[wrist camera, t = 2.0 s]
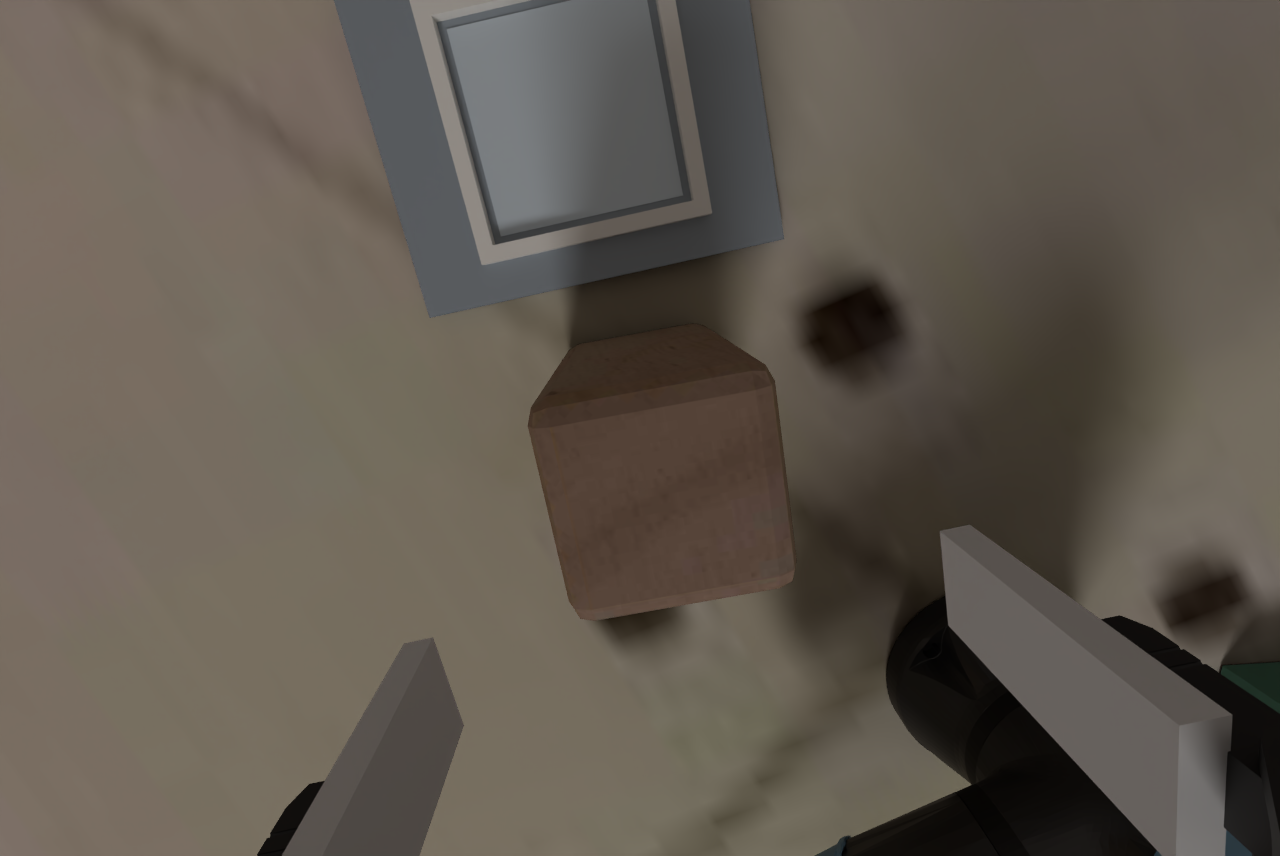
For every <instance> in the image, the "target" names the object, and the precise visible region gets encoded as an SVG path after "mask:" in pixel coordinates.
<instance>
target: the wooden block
mask: <svg viewBox="0 0 1280 856" xmlns="http://www.w3.org/2000/svg"><path fill="white" fill-rule="evenodd" d="M528 429H529V433H530V437H531V441H532V446H533V450H534V454H535V458H536V463H537V467H538V471H539V475H540V480H541V484H542V488H543V492H544V497H545V501H546V505H547V509H548V514H549V518H550V522H551V526H552V531H553V535H554V539H555V544H556V548H557V552H558V556H559V561H560V565H561V569H562V573H563V578H564V582H565V586H566V590H567V595H568V599H569V602H570V603H571V605H572V606H573V608H574V609H575V611H576V612H577V614H578V616H579V617H580V619H586V620H593V621H596V620H601V619H607V618H613V617H618V616H624V615H630V614H635V613H641V612H647V611H652V610H658V609H664V608H669V607H675V606H681V605H686V604H692V603H698V602H703V601H709V600H715V599H720V598H726V597H732V596H737V595H743V594H749V593H754V592H760V591H766V590H771V589H777V588H781V587H783V586H785V585H786V584H788V583H790V582H792V581H793V576H794V571H795V567H796V563H797V558H796V550H795V542H794V534H793V525H792V517H791V509H790V501H789V493H788V485H787V476H786V468H785V460H784V452H783V444H782V436H781V427H780V419H779V411H778V403H777V395H776V387H775V380H774V379H773V377H772V375H771V374H770V372H769V370H768V368H767V367H766V365H765V364H763V363H762V362H760V361H759V360H757V359H756V358H754V357H752V356H751V355H749V354H748V353H746V352H745V351H743V350H741V349H740V348H738V347H737V346H735V345H734V344H732V343H730V342H729V341H727V340H726V339H724V338H723V337H721V336H719V335H718V334H716V333H715V332H713V331H712V330H710V329H708V328H707V327H705V326H703V325H699V324H694V323H691V324H686V325H681V326H675V327H670V328H664V329H659V330H653V331H648V332H642V333H637V334H632V335H626V336H621V337H615V338H610V339H604V340H599V341H593V342H588V343H582V344H578V345H576V346H575V347H573V348H572V349H570V350H569V351H568V353H567V354H566V356H565V357H564V359H563V360H562V362H561V363H560V365H559V366H558V368H557V369H556V371H555V372H554V374H553V375H552V377H551V378H550V380H549V381H548V383H547V384H546V386H545V387H544V389H543V390H542V392H541V393H540V395H539V396H538V398H537V399H536V401H535V402H534V404H533V405H532V407H531V411H530V416H529V422H528Z"/></svg>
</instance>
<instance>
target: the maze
mask: <svg viewBox="0 0 1280 856" xmlns="http://www.w3.org/2000/svg"><path fill="white" fill-rule="evenodd" d="M1221 674H1222V675H1223V676H1225V677H1226V678H1227V679H1229V680H1230V681H1232V682H1233V683H1235V684H1236V685H1238V686H1239V687H1241V688H1242V689H1244V690H1245V691H1247V692H1248V693H1250V694H1251V695H1253V696H1254V697H1256V698H1257V699H1259V700H1260V701H1262V702H1263V703H1265V704H1266V705H1268V706H1269V707H1271V708H1272V709H1274V710H1275V711H1277V712H1278V713H1280V662H1273V663H1257V664H1240V665H1224V666H1223V667H1222V670H1221Z"/></svg>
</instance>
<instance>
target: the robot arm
mask: <svg viewBox="0 0 1280 856" xmlns="http://www.w3.org/2000/svg"><path fill="white" fill-rule="evenodd" d="M940 540H941V551H942V562H943V573H944V584H945V595H946V596H945V597H943V598H941V599H939V600H938V601H936V602H934V603H933V604H931V605H929V606H928V607H927V608H925V609H924V610H923V611H921V612H920V613H919V614H918V615H917V616H916V617H915V618H914V619H913V620H912V621H911V622H910V623H909V624H908V625H907V626H906V628H905V629H904V630H903V632H902V633H901V634H900V636H899V638H898V639H897V641H896V643H895V645H894V647H893V649H892V652H891V655H890V658H889V662H888V667H887V689H888V694H889V698H890V700H891V703H892V705H893V707H894V709H895V711H896V712H897V714H898V715H899V717H900V719H901V720H902V722H903V723H904V725H905V727H906V728H907V730H908V731H909V732H910V733H911V735H912V736H913V737H914V738H915V739H916V740H917V741H918V742H919V743H920V744H921V745H922V746H924V747H925V748H926V749H927V750H929V751H931V752H932V753H933V754H934V755H936V756H937V757H938V758H939V759H940V760H942V761H943V762H944V763H945V764H947V765H948V766H949V767H950V768H952V769H953V770H954V771H956V772H957V773H958V774H959V775H961V776H962V777H963V778H964V779H966V780H967V781H968V782H970V783H971V786H969V787H966V788H964V789H962V790H960V791H957V792H954V793H952V794H950V795H947V796H945V797H943V798H941V799H938V800H936V801H934V802H932V803H929V804H927V805H925V806H922V807H920V808H918V809H916V810H913V811H911V812H909V813H906V814H904V815H902V816H900V817H897V818H895V819H893V820H891V821H888V822H886V823H884V824H881V825H879V826H877V827H875V828H872V829H870V830H868V831H866V832H863V833H861V834H859V835H856V836H854V837H850V836H844V837H842V838H841V839H840V840H839V841H838V843H837V844H836V845H834V846H832V847H831V848H829V849H827V850H825V851H823V852H821V853H819V854H817V855H815V856H1280V713H1278V712H1277V711H1275V710H1274V709H1272V708H1271V707H1269V706H1268V705H1266V704H1265V703H1263V702H1262V701H1260V700H1259V699H1257V698H1256V697H1254V696H1253V695H1251V694H1250V693H1248V692H1247V691H1245V690H1244V689H1242V688H1241V687H1239V686H1238V685H1236V684H1235V683H1233V682H1232V681H1230V680H1229V679H1227V678H1226V677H1225V676H1223V675H1222V674H1220V673H1219V672H1217V671H1216V670H1214V669H1213V668H1211V667H1210V666H1208V665H1207V664H1204V665H1203V664H1202V663H1201V661H1200V660H1199V659H1198V658H1196V657H1195V656H1193V655H1192V654H1190V653H1189V652H1187V651H1186V650H1184V649H1183V650H1181V649H1180V648H1179V646H1178V645H1177V644H1175V643H1174V642H1172V641H1171V640H1169V639H1168V638H1166V637H1165V636H1163V635H1162V634H1160V633H1159V632H1157V631H1156V630H1154V629H1153V628H1151V627H1148V626H1146V625H1143V624H1140V623H1138V622H1135V621H1133V620H1130V619H1128V618H1125V617H1123V616H1115V617H1110V618H1105V619H1099V618H1098V617H1097V616H1095V615H1094V614H1093V613H1091V612H1090V611H1088V610H1087V609H1086V608H1084V607H1083V606H1081V605H1080V604H1079V603H1077V602H1076V601H1075V600H1073V599H1072V598H1070V597H1069V596H1068V595H1066V594H1065V593H1064V592H1062V591H1061V590H1059V589H1058V588H1057V587H1055V586H1054V585H1053V584H1051V583H1050V582H1048V581H1047V580H1046V579H1044V578H1043V577H1041V576H1040V575H1039V574H1037V573H1036V572H1035V571H1033V570H1032V569H1030V568H1029V567H1028V566H1026V565H1025V564H1024V563H1022V562H1021V561H1019V560H1018V559H1017V558H1015V557H1014V556H1012V555H1011V554H1010V553H1008V552H1007V551H1006V550H1004V549H1003V548H1001V547H1000V546H999V545H997V544H996V543H995V542H993V541H992V540H990V539H989V538H988V537H986V536H985V535H984V534H982V533H981V532H979V531H978V530H977V529H975V528H974V527H972V526H971V525H966V526H961V527H956V528H951V529H947V530H942V531H940ZM463 726H464V725H463V722H462V719H461V716H460V713H459V710H458V707H457V705H456V702H455V699H454V696H453V693H452V690H451V687H450V685H449V682H448V679H447V676H446V673H445V670H444V667H443V665H442V662H441V659H440V656H439V653H438V650H437V647H436V645H435V642H434V639H433V638H428V639H424V640H419V641H414V642H409V643H405V644H404V645H403V646H402V648H401V650H400V651H399V653H398V655H397V657H396V658H395V660H394V662H393V664H392V665H391V667H390V669H389V671H388V672H387V674H386V676H385V678H384V679H383V681H382V683H381V684H380V686H379V688H378V690H377V691H376V693H375V695H374V697H373V698H372V700H371V702H370V704H369V705H368V707H367V709H366V710H365V712H364V714H363V716H362V717H361V719H360V721H359V723H358V724H357V726H356V728H355V730H354V731H353V733H352V735H351V736H350V738H349V740H348V742H347V743H346V745H345V747H344V749H343V750H342V752H341V754H340V756H339V757H338V759H337V761H336V762H335V764H334V766H333V768H332V769H331V771H330V773H329V775H328V776H327V778H326V780H325V781H322V782H317V783H312V784H309V785H308V786H307V787H306V788H305V789H304V790H303V791H302V792H301V793H300V794H299V795H298V796H297V797H296V798H295V799H294V800H293V801H292V802H291V803H290V804H289V805H288V806H287V807H286V809H285V810H284V812H283V813H282V815H281V817H280V818H279V820H278V822H277V823H276V825H275V826H274V828H273V830H272V831H271V833H270V834H271V835H270V838H267V839H266V841H265V842H264V844H263V846H262V847H261V849H260V851H259V852H258V854H257V855H258V856H419V855H420V852H421V849H422V846H423V843H424V840H425V837H426V835H427V832H428V829H429V826H430V823H431V820H432V817H433V814H434V811H435V808H436V805H437V802H438V799H439V797H440V794H441V791H442V788H443V785H444V782H445V779H446V776H447V773H448V770H449V767H450V764H451V761H452V758H453V756H454V753H455V750H456V747H457V744H458V741H459V738H460V735H461V732H462V729H463Z"/></svg>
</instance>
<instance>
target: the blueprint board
mask: <svg viewBox="0 0 1280 856" xmlns="http://www.w3.org/2000/svg"><path fill="white" fill-rule="evenodd" d="M334 2H335V5H336V9H337V12H338V15H339V19H340V22H341V25H342V29H343V32H344V35H345V38H346V42H347V45H348V48H349V52H350V55H351V58H352V62H353V65H354V68H355V72H356V75H357V78H358V82H359V85H360V88H361V92H362V95H363V98H364V102H365V105H366V108H367V111H368V115H369V118H370V121H371V125H372V128H373V131H374V135H375V138H376V141H377V145H378V148H379V151H380V155H381V158H382V161H383V165H384V168H385V171H386V174H387V178H388V181H389V184H390V188H391V191H392V194H393V198H394V201H395V204H396V208H397V211H398V214H399V218H400V221H401V224H402V228H403V231H404V234H405V238H406V241H407V244H408V247H409V251H410V254H411V257H412V261H413V264H414V267H415V271H416V274H417V277H418V281H419V284H420V287H421V291H422V294H423V297H424V301H425V304H426V307H427V311H428V314H429V317H430V318H431V317H436V316H440V315H445V314H449V313H454V312H458V311H463V310H467V309H472V308H476V307H481V306H485V305H490V304H494V303H499V302H503V301H508V300H512V299H517V298H521V297H526V296H530V295H535V294H539V293H544V292H548V291H553V290H557V289H562V288H566V287H571V286H575V285H580V284H584V283H589V282H593V281H598V280H602V279H607V278H611V277H616V276H620V275H625V274H629V273H634V272H638V271H643V270H647V269H652V268H656V267H661V266H665V265H670V264H674V263H679V262H683V261H688V260H692V259H697V258H701V257H706V256H710V255H715V254H719V253H724V252H728V251H733V250H737V249H742V248H746V247H751V246H755V245H760V244H764V243H769V242H773V241H778V240H782V239H784V235H783V228H782V221H781V214H780V207H779V201H778V194H777V187H776V180H775V173H774V166H773V159H772V153H771V146H770V139H769V132H768V125H767V118H766V111H765V104H764V98H763V91H762V84H761V77H760V70H759V63H758V56H757V49H756V43H755V36H754V29H753V22H752V15H751V8H750V1H749V0H334Z"/></svg>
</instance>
